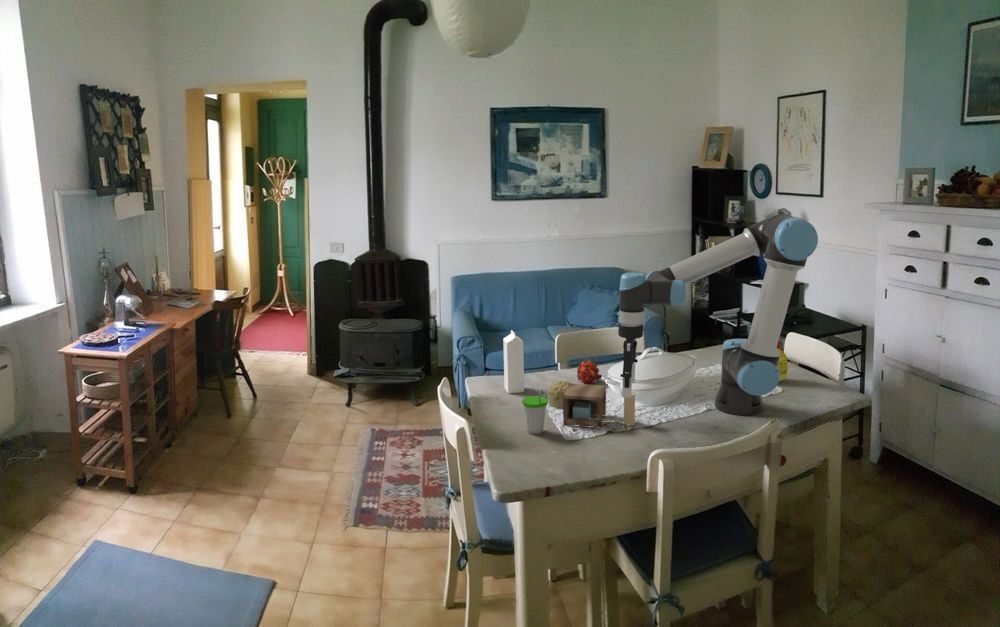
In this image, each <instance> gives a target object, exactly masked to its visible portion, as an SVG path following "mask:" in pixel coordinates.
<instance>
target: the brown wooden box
mask: <svg viewBox="0 0 1000 627" xmlns="http://www.w3.org/2000/svg"><path fill="white" fill-rule="evenodd" d="M575 402H587V403H591V416H597V419H598V420H587V419H573V417H572V416H573V414H572V413H573V406H574V404H575ZM606 409H607V385H600V384H589V385H588V384H584V383H583V384H582V383H571V382H570V383H569V385H568V387H567V389H566V391H565V393H564V395H563V408H562V410H563V413H562V414H563V415H562V416H563V418H562V420H563V422H562V423H563V424H562V425H563V426H568V425H579V426H578V427H581V426H593V427H602V428H603V422H602V419H603V416H602V415H607V410H606ZM571 415H572V416H571ZM570 417H571V418H570ZM593 427H592V428H593Z"/></svg>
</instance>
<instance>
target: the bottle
mask: <svg viewBox="0 0 1000 627" xmlns="http://www.w3.org/2000/svg"><path fill="white" fill-rule="evenodd" d="M780 337H781V336H780ZM780 337H779V341H778V344H777V350H778V352H779V353H780V357H779V361H778V365H777V369H778V371H779V375H780V378H779V382H782V381H785V380H786V378H787V375H788V368H789V366H788V365H789V364H788V358H787V355H786V353H785V352H784V351H783V350H782V348H781V344H780Z"/></svg>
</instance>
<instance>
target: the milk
mask: <svg viewBox="0 0 1000 627" xmlns="http://www.w3.org/2000/svg"><path fill="white" fill-rule="evenodd" d="M502 340H503V345H502V346H503V372H504V373H503V374H504V375H503V376H504V381H503V382H504V387H503V388H504V389H506V390H505V391H506V392H507V394H508V393H509V394H517V393H524V392H525V368H524V366H525V362H524V361H525V360H524V355H525V353H524V341H523V340H522V339H521V337H519V336H517V335H516V333H515V332H514V331H513V329H511V330H510V334H508V335H506V336H505V337H504V338H503V339H502Z"/></svg>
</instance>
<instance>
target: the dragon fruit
mask: <svg viewBox="0 0 1000 627" xmlns="http://www.w3.org/2000/svg"><path fill="white" fill-rule="evenodd" d="M576 369H577V370H576V372H577V373H576V374H577V375H576V376H577V380H578V381H581V382H582V383H583V384H587V385H590V383H592V384H593V383H595V382H596V381H597V380H599V379H601V378H602V377H603V376H602V374H600V370H599V367H598V364H597V363H596V362H595V363H594V362H592V361H591V360H584V361H582V362H581V363H580V364H578V366H577V367H576Z"/></svg>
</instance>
